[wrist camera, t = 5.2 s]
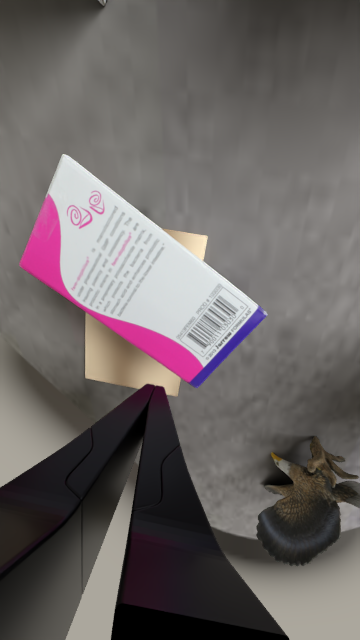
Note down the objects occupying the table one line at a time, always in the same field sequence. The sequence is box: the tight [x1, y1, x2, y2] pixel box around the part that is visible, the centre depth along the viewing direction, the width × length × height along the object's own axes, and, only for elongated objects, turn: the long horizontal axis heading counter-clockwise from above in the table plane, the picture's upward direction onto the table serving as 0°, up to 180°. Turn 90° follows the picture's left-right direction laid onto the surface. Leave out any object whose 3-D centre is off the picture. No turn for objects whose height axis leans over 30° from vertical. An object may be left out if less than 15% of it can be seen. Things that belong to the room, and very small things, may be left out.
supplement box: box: [19, 154, 267, 388], centre depth 12 cm, size 6×6×12 cm
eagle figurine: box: [257, 436, 360, 566], centre depth 16 cm, size 8×7×9 cm
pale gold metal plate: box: [85, 229, 208, 396], centre depth 16 cm, size 9×14×1 cm, turn 171°
